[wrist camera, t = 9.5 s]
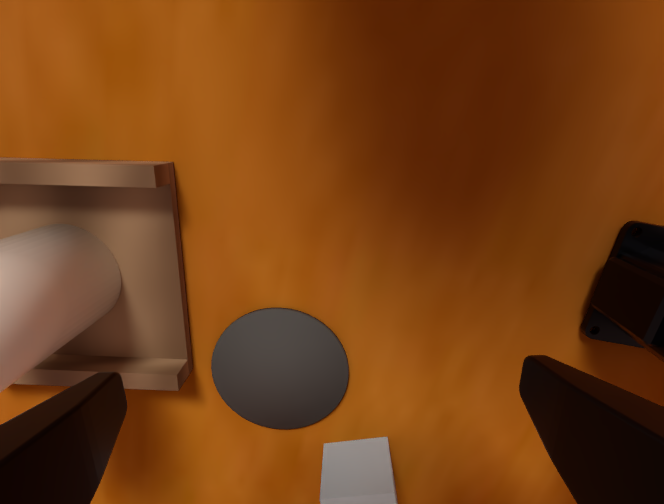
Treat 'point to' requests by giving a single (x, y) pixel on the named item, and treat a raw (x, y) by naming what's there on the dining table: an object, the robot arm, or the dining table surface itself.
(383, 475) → the block
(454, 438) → the dining table surface
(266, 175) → the dining table surface
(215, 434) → the dining table surface
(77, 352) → the bay
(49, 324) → the white rounded tapered post
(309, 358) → the coaster
